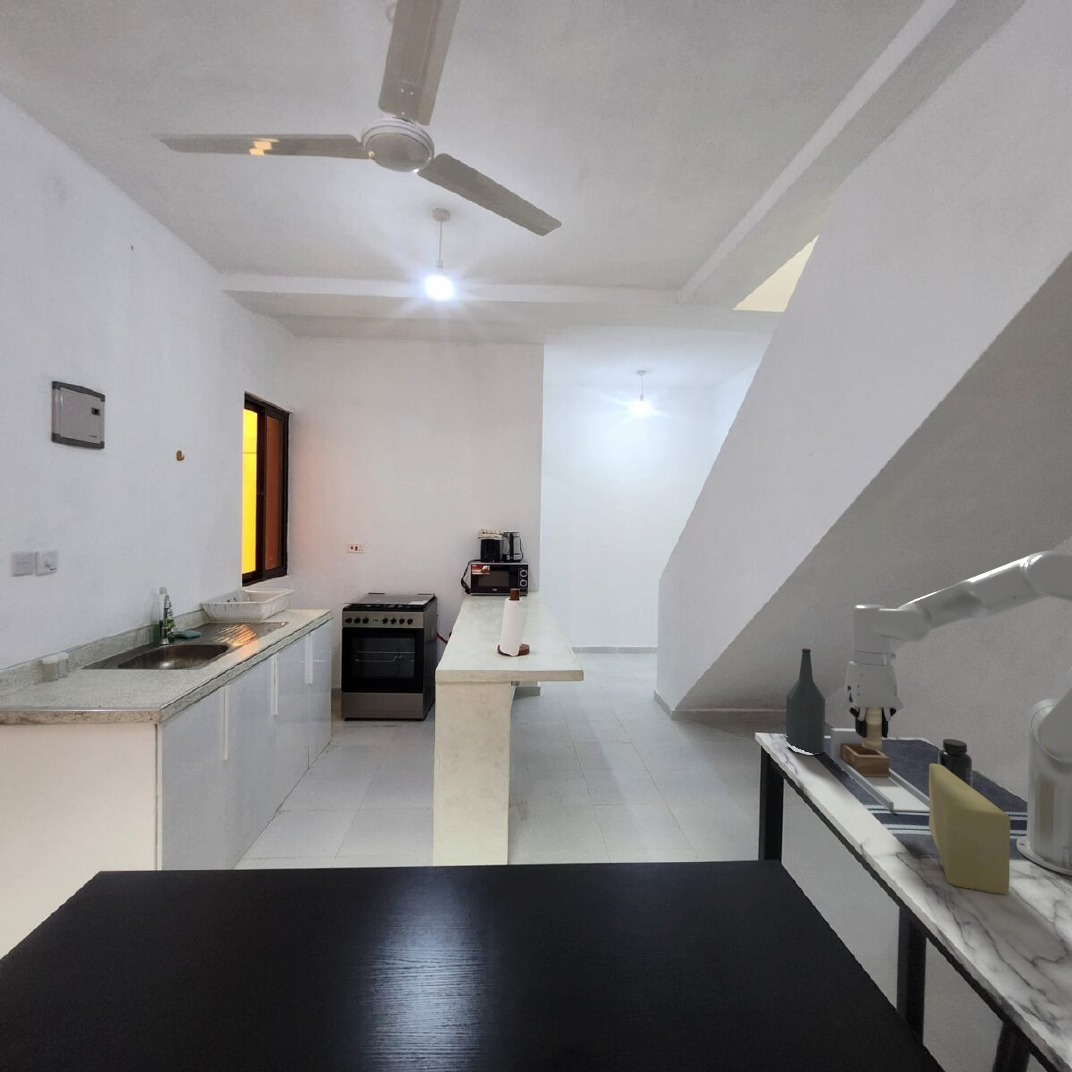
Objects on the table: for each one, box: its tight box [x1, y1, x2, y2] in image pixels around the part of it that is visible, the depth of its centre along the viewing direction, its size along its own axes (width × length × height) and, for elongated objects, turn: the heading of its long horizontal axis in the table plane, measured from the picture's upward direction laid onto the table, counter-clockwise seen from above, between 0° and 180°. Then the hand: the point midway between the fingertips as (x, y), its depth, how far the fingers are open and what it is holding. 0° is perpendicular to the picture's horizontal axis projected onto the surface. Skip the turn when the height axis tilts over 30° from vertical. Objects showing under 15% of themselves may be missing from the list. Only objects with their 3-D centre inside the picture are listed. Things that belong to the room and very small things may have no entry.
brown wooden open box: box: [840, 743, 890, 777], centre depth 147 cm, size 9×8×5 cm
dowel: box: [862, 707, 883, 751], centre depth 127 cm, size 4×4×12 cm
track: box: [829, 727, 930, 813], centre depth 140 cm, size 28×11×9 cm, turn 177°
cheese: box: [928, 763, 1011, 895], centre depth 109 cm, size 22×10×15 cm, turn 161°
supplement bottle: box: [937, 738, 973, 788], centre depth 137 cm, size 7×7×12 cm
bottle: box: [785, 648, 826, 754], centre depth 161 cm, size 10×10×30 cm
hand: (871, 735), depth 127 cm, fingers closed on dowel, 4 cm apart
